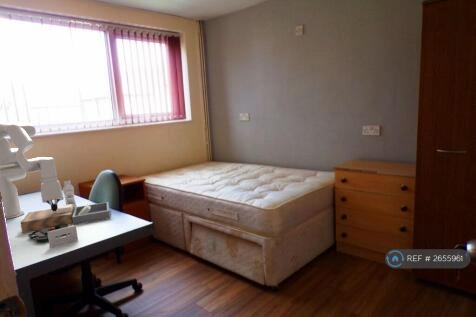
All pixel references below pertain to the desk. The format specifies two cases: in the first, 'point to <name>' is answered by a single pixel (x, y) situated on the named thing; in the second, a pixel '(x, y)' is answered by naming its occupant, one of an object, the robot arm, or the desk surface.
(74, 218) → the bin
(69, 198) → the plastic bottle
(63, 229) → the cassette
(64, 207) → the tile cream
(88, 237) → the desk surface
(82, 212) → the tile sage
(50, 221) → the wooden block
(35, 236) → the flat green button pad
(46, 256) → the desk surface
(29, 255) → the desk surface
